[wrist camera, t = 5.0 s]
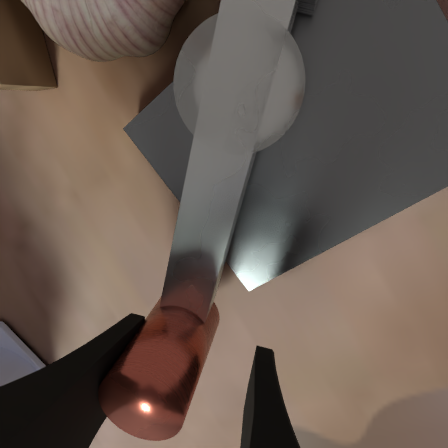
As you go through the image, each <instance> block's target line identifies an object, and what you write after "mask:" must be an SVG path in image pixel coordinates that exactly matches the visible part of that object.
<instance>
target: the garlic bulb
mask: <svg viewBox="0 0 448 448" xmlns="http://www.w3.org/2000/svg"><path fill="white" fill-rule="evenodd" d="M21 1H22V2H23V3H24V4H25V5H26V6H27V8H28V9H29V10H30V11H31V13H32V14H33V16H34V18H35V19H36V21H37V22H38V24H39V25H40V27H41V28H42V29H43V30H44V32H45V33H46V34H47V35H48V36H49V37H50V38H51V39H52V40H53V41H55V42H56V43H57V44H59V45H60V46H61V47H63V48H64V49H66V50H68V51H70V52H72V53H74V54H77V55H79V56H81V57H83V58H85V59H89V60H92V61H97V62H106V61H112V60H115V59H117V58H119V57H122V56H135V57H144V56H148V55H151V54H153V53H155V52H156V51H158V50H159V49H160V48H161V46H162V45H163V44H164V43H165V41H166V40H167V38H168V35H169V33H170V29H171V25H172V22H173V19H174V17H175V15H176V14H177V12H178V11H179V9H180V8H181V6H182V5H183V3H184V1H185V0H21Z"/></svg>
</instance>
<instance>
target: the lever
mask: <svg viewBox="0 0 448 448" xmlns="http://www.w3.org/2000/svg"><path fill="white" fill-rule="evenodd" d="M317 1H318V0H221V3H220V8H219V13H217V14H215V15H213V16H211V17H209V18H208V19H206V20H205V21H204V22H202V23H201V24H200V25H199V26H198V27H197V28H195V30H194V31H193V32H192V33H191V34H190V35H189V37H188V38H187V40H186V41H185V43H184V45H183V47H182V49H181V51H180V53H179V56H178V59H177V62H176V66H175V71H174V96H175V101H176V105H177V108H178V111H179V114H180V116H181V118H182V120H183V122H184V124H185V125H186V127H187V128H188V130H189V131H190V132H191V133H192V134H193V135H194V137H193V142H192V147H191V152H190V157H189V162H188V167H187V172H186V177H185V182H184V187H183V192H182V197H181V202H180V207H179V212H178V217H177V222H176V227H175V232H174V237H173V242H172V247H171V252H170V257H169V262H168V267H167V272H166V277H165V282H164V287H163V292H162V296H161V298H160V299H159V301H158V302H157V304H156V305H155V306H154V308H153V309H152V311H151V312H150V314H149V315H148V316H147V318H146V319H145V321H144V322H143V324H142V325H141V326H140V328H139V329H138V331H137V332H136V334H135V335H134V337H133V338H132V339H131V341H130V342H129V344H128V345H127V347H126V348H125V349H124V351H123V352H122V354H121V355H120V357H119V358H118V359H117V361H116V362H115V364H114V365H113V367H112V368H111V369H110V371H109V372H108V374H107V375H106V377H105V378H104V380H103V381H102V382H101V384H100V386H99V389H98V399H99V403H100V406H101V408H102V410H103V411H104V413H105V414H106V416H107V417H108V418H109V419H110V420H111V421H112V422H113V423H114V424H115V425H116V426H117V427H119V428H120V429H122V430H123V431H125V432H127V433H128V434H131V435H133V436H135V437H138V438H141V439H145V440H153V441H160V440H166V439H169V438H171V437H173V436H175V435H176V434H177V433H178V432H179V431H180V430H181V428H182V425H183V423H184V420H185V417H186V414H187V411H188V409H189V406H190V403H191V400H192V397H193V395H194V392H195V389H196V386H197V383H198V380H199V378H200V375H201V372H202V369H203V366H204V364H205V361H206V358H207V355H208V352H209V349H210V347H211V344H212V341H213V338H214V335H215V333H216V330H217V327H218V324H219V312H218V309H217V307H216V305H215V303H214V299H215V296H216V292H217V289H218V285H219V282H220V278H221V275H222V271H223V268H224V264H225V261H226V257H227V254H228V250H229V247H230V243H231V240H232V236H233V233H234V229H235V226H236V222H237V219H238V215H239V212H240V208H241V205H242V201H243V198H244V194H245V191H246V187H247V184H248V180H249V177H250V173H251V170H252V166H253V163H254V159H255V156H256V152H257V151H260V150H262V149H264V148H267V147H268V146H270V145H272V144H273V143H275V142H276V141H277V140H278V139H280V138H281V137H282V136H283V135H284V134H285V133H286V131H287V130H288V129H289V128H290V126H291V125H292V124H293V122H294V120H295V118H296V117H297V115H298V113H299V110H300V107H301V105H302V101H303V97H304V92H305V68H304V63H303V59H302V55H301V52H300V50H299V47H298V45H297V44H296V42H295V40H294V38H293V37H292V35H291V34H290V33H291V30H292V26H293V23H294V19H295V16H296V12H300V13H304V14H308V15H312V16H313V14H314V11H315V8H316V4H317Z"/></svg>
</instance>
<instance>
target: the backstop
mask: <svg viewBox="0 0 448 448" xmlns="http://www.w3.org/2000/svg"><path fill="white" fill-rule="evenodd" d="M51 88H57V84H56V80H55V76H54V72H53V69H52V65H51V61H50V57H49V54H48V50H47V46H46V43H45V39H44V35H43V31H42V28H41V27H40V25H39V24H38V22H37V21H36V19H35V18H34V16H33V14H32V13H31V11H30V10H29V9H28V8H27V6H26V5H25V4H24V3H23V2H22V1H21V0H0V90H26V91H38V90H45V89H51Z"/></svg>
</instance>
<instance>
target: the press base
mask: <svg viewBox="0 0 448 448" xmlns="http://www.w3.org/2000/svg"><path fill="white" fill-rule="evenodd" d="M290 34H291V35H292V37H293V38H294V40H295V42H296V44H297V45H298V47H299V50H300V52H301V55H302V59H303V63H304V68H305V92H304V97H303V101H302V105H301V107H300V110H299V113H298V115H297V117H296V118H295V120H294V122H293V124H292V125H291V126H290V128H289V129H288V130H287V131H286V133H285V134H284V135H283V136H282V137H281V138H280V139H278V140H277V141H276V142H275V143H273V144H272V145H270V146H268V147H267V148H264V149H262V150H260V151H257V152H256V156H255V159H254V163H253V166H252V170H251V173H250V177H249V180H248V184H247V187H246V191H245V194H244V198H243V201H242V205H241V208H240V212H239V215H238V219H237V222H236V226H235V229H234V233H233V236H232V240H231V243H230V247H229V250H228V254H227V257H226V262H227V264H228V265H229V266H230V267H231V269H232V270H233V271H234V273H235V274H236V275H237V277H238V278H239V279H240V280H241V282H242V283H243V284H244V286H245V287H246V288H247V289H248V291H250V290H252V289H254V288H256V287H258V286H260V285H262V284H264V283H265V282H267V281H269V280H271V279H273V278H275V277H277V276H279V275H281V274H283V273H284V272H286V271H288V270H290V269H292V268H294V267H296V266H298V265H300V264H301V263H303V262H305V261H307V260H309V259H311V258H313V257H315V256H317V255H319V254H320V253H322V252H324V251H326V250H328V249H330V248H332V247H334V246H336V245H338V244H339V243H341V242H343V241H345V240H347V239H349V238H351V237H353V236H355V235H356V234H358V233H360V232H362V231H364V230H366V229H368V228H370V227H372V226H374V225H375V224H377V223H379V222H381V221H383V220H385V219H387V218H389V217H391V216H393V215H394V214H396V213H398V212H400V211H402V210H404V209H406V208H408V207H410V206H411V205H413V204H415V203H417V202H419V201H421V200H423V199H425V198H427V197H429V196H430V195H432V194H434V193H436V192H438V191H440V190H442V189H444V188H446V187H448V21H447V19H446V17H445V16H444V14H443V12H442V10H441V8H440V6H439V4H438V2H437V0H318V1H317V4H316V8H315V11H314V14H313V16H312V15H308V14H304V13H300V12H296V16H295V19H294V23H293V26H292V30H291V33H290ZM123 129H124V131H125V132H126V133H127V134H128V136H129V137H130V138H131V140H132V141H133V142H134V144H135V145H136V146H137V147H138V149H139V150H140V151H141V153H142V154H143V155H144V156H145V158H146V159H147V160H148V162H149V163H150V164H151V165H152V167H153V168H154V169H155V171H156V172H157V173H158V175H159V176H160V177H161V178H162V180H163V181H164V182H165V184H166V185H167V186H168V187H169V189H170V190H171V191H172V193H173V194H174V195H175V196H176V198H177V199H178V200H179V202H181V197H182V192H183V187H184V182H185V177H186V172H187V167H188V162H189V157H190V152H191V147H192V142H193V137H194V135H193V134H192V133H191V132H190V131H189V130H188V128H187V127H186V125H185V124H184V122H183V120H182V118H181V116H180V114H179V111H178V108H177V105H176V101H175V96H174V81H173V82H172V83H171V84H170V85H169V86H168V87H166V88H165V89H164V90H163V91H162V92H161V93H160V94H159V95H158V96H157V97H156V98H155V99H154V100H153V101H152V102H151V103H150V104H149V105H147V106H146V107H145V108H144V109H143V110H142V111H141V112H140V113H139V114H138V115H137V116H136V117H135V118H134V119H133V120H132V121H131V122H130V123H128V124H127V125H126V126H125V127H124V128H123Z"/></svg>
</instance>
